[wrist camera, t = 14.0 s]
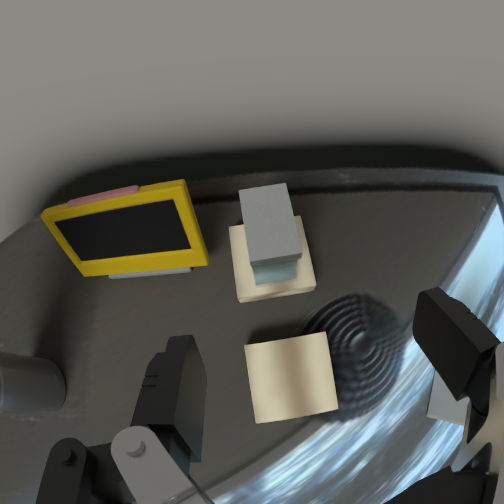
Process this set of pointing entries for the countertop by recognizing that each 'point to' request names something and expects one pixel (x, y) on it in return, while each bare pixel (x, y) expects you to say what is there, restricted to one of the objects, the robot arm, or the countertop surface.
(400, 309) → the countertop surface
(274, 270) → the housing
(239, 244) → the stand
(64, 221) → the toy computer monitor
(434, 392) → the milk carton
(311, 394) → the stand
